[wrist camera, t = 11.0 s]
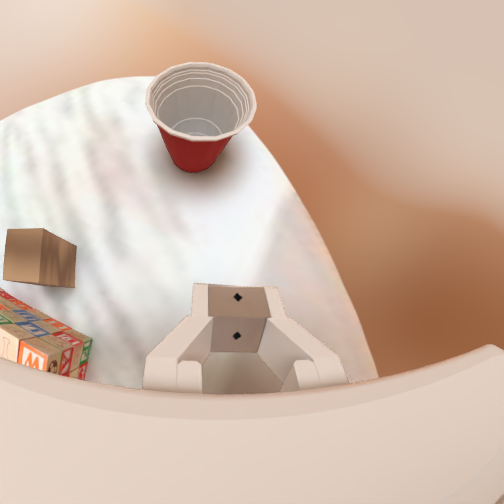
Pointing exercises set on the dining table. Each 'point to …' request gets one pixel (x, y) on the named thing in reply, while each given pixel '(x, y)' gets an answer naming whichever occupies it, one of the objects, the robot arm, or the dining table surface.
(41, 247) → the walnut block
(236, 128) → the plastic cup
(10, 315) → the stack of blocks
